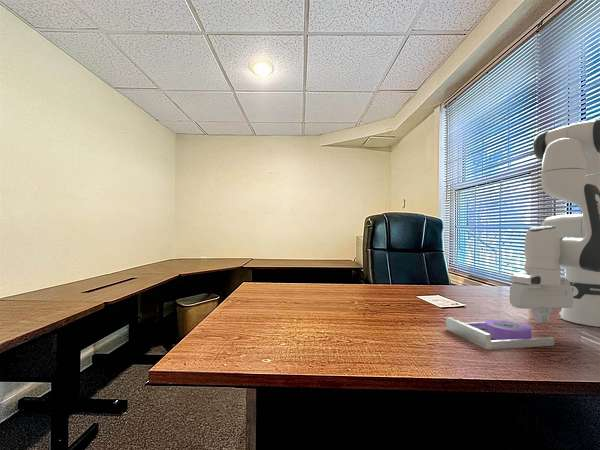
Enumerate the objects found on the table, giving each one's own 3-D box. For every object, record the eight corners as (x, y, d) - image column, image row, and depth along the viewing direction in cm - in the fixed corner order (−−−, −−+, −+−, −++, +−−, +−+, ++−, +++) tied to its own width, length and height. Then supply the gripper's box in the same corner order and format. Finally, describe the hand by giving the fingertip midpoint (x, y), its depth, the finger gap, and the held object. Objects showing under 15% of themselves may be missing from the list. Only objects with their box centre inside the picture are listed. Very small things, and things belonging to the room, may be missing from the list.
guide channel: (504, 326, 103) (504, 315, 103) (554, 345, 86) (554, 331, 86) (446, 329, 99) (446, 317, 99) (486, 349, 82) (486, 334, 83)
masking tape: (476, 332, 97) (476, 320, 97) (504, 329, 100) (504, 318, 101) (511, 346, 86) (510, 332, 86) (541, 342, 89) (541, 329, 89)
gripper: (559, 276, 100) (559, 318, 99) (505, 276, 96) (505, 320, 96) (580, 279, 94) (580, 324, 93) (523, 278, 90) (523, 326, 90)
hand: (541, 322), depth 94 cm, fingers closed
